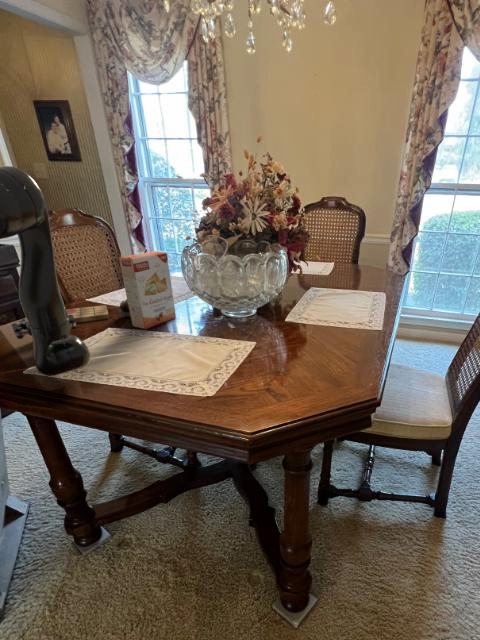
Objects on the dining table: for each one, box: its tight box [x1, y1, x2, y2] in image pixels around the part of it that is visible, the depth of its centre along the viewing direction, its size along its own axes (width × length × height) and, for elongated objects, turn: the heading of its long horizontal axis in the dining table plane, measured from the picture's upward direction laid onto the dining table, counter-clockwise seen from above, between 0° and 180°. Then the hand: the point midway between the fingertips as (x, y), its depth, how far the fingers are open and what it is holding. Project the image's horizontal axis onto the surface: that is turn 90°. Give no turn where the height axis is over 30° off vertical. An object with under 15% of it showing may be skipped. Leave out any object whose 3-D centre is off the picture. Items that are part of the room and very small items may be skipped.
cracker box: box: [118, 251, 177, 330], centre depth 117 cm, size 14×6×21 cm, turn 155°
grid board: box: [65, 304, 110, 324], centre depth 127 cm, size 16×12×2 cm
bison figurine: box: [118, 298, 131, 318], centre depth 125 cm, size 12×7×10 cm, turn 76°
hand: (42, 319), depth 105 cm, fingers open, 8 cm apart
